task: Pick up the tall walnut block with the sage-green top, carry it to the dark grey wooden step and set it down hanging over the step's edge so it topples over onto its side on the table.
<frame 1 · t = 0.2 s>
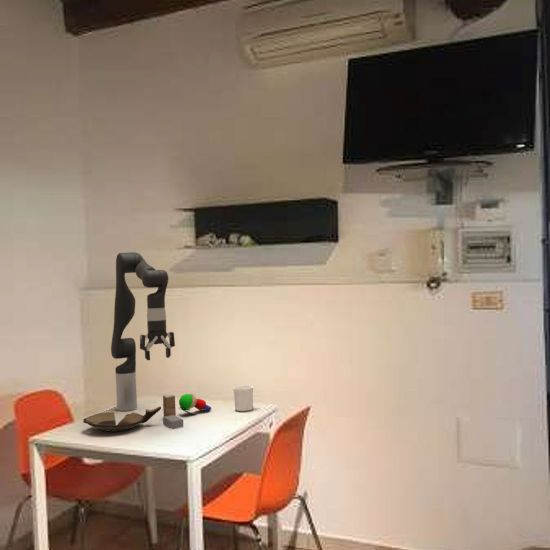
hand: (158, 358, 243), 28 cm above the table, fingers open, 8 cm apart
step: (173, 425, 247), on the table
block: (169, 418, 258), on the table
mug: (244, 410, 270), on the table
toy: (194, 413, 267), on the table
oil lamp: (121, 429, 244), on the table
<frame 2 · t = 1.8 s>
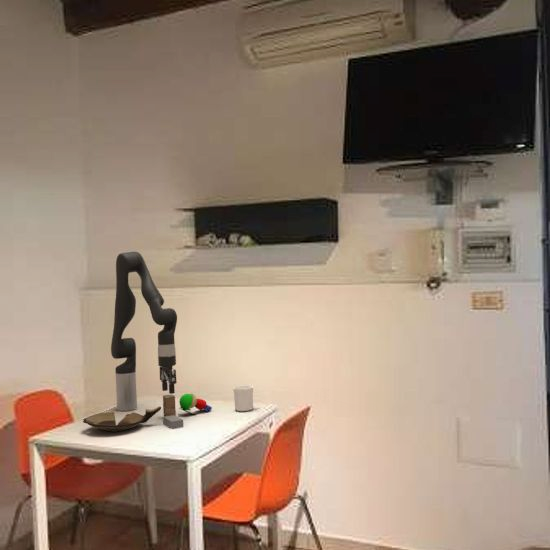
hand: (168, 392, 258), 12 cm above the table, fingers open, 8 cm apart
nothing on the table moved.
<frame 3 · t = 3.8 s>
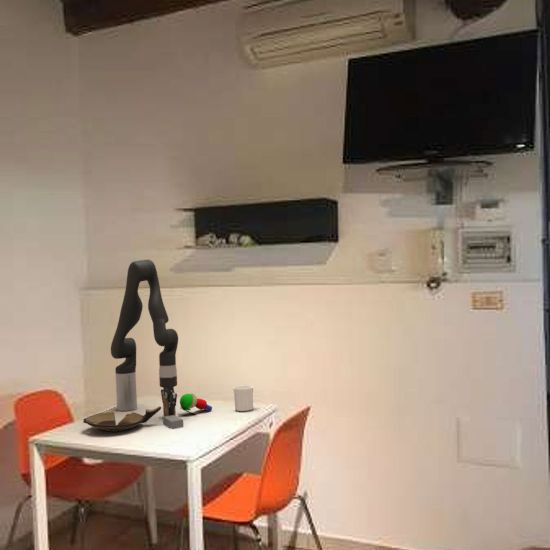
hand: (169, 414, 258), 2 cm above the table, fingers closed on block, 4 cm apart
block: (169, 418, 258), on the table, touching gripper
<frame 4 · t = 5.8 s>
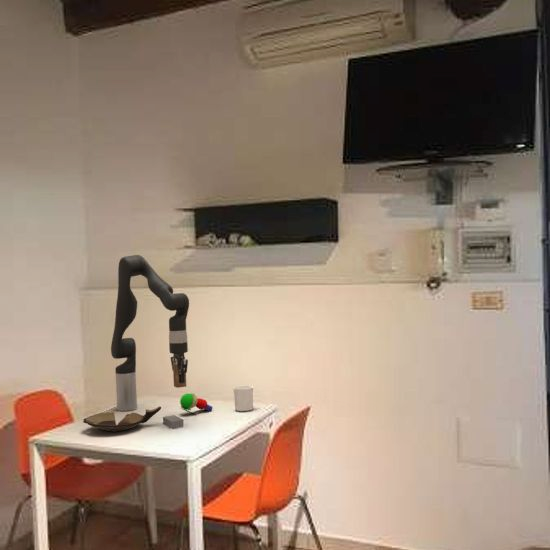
hand: (179, 382, 248), 17 cm above the table, fingers closed on block, 4 cm apart
block: (180, 386, 248), point 16 cm above the table, touching gripper
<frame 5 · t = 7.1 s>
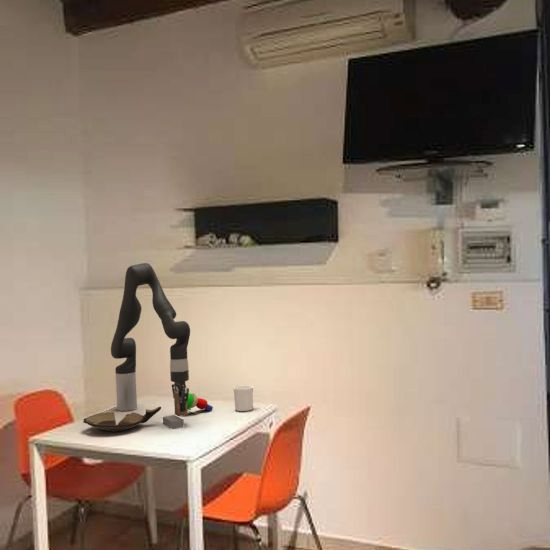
hand: (181, 410, 248), 6 cm above the table, fingers closed on block, 4 cm apart
block: (181, 414, 248), point 4 cm above the table, touching gripper
when the fingers open (5 cm above the table, at t = 7.9 s): block drops 1 cm and tips over, point 2 cm above the table.
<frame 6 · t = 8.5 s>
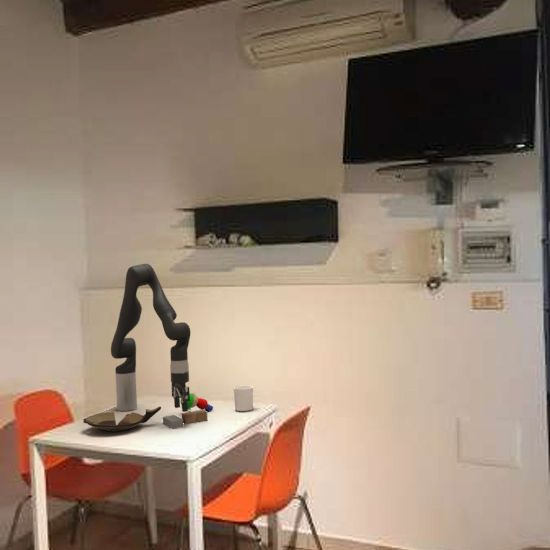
hand: (181, 409, 248), 6 cm above the table, fingers open, 8 cm apart
block: (183, 418, 249), point 2 cm above the table, tilted 90°
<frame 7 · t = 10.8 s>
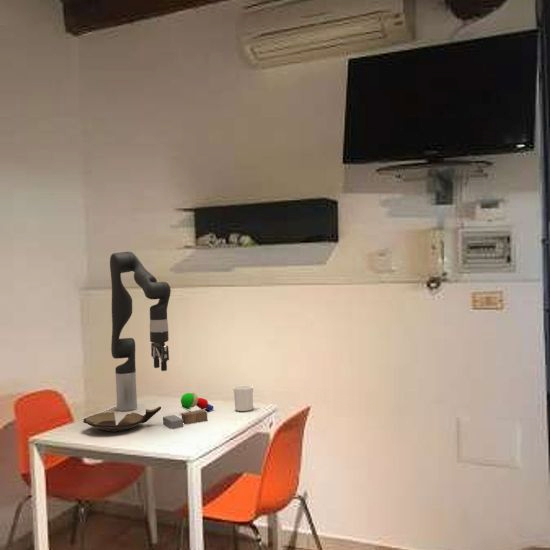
hand: (160, 369, 247), 23 cm above the table, fingers open, 8 cm apart
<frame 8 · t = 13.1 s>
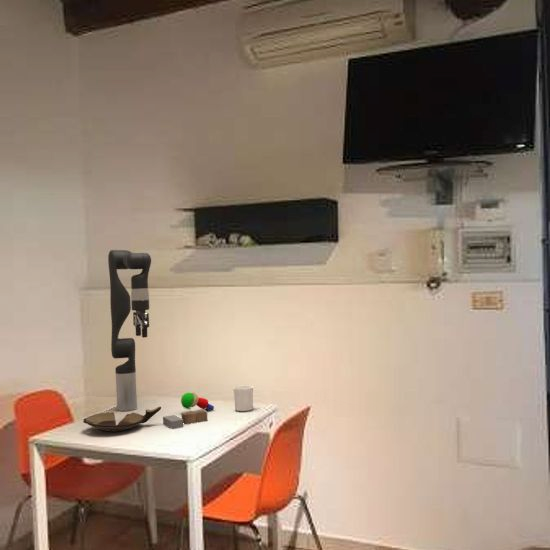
hand: (141, 336, 258), 36 cm above the table, fingers open, 8 cm apart
at the end: block tilted 90°; block inside the target area (5.5 cm from its centre), point 1.9 cm above the table; the gripper is holding nothing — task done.
